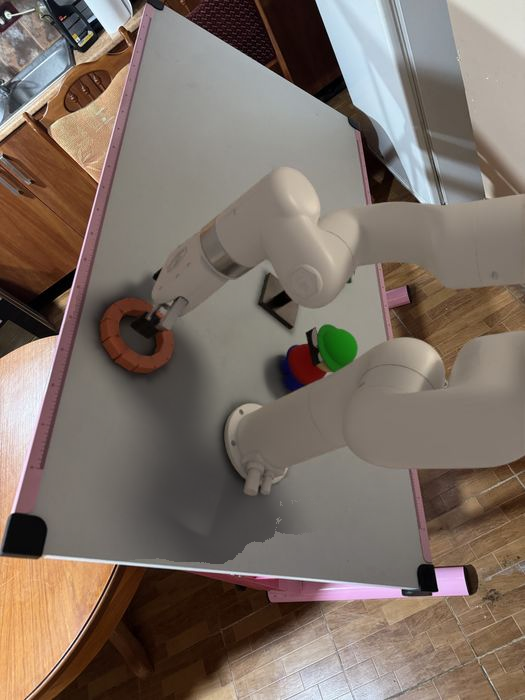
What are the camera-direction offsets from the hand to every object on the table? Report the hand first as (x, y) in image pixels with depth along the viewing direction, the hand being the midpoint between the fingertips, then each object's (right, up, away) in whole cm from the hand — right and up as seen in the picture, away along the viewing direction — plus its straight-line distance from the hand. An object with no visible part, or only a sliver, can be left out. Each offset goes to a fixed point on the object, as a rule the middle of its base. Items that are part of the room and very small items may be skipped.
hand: (150, 306), depth 78 cm
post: (+19, +3, +25) cm, 31 cm away
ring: (-2, -4, -1) cm, 5 cm away
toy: (+20, -10, +18) cm, 29 cm away
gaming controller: (+32, +11, +44) cm, 55 cm away
